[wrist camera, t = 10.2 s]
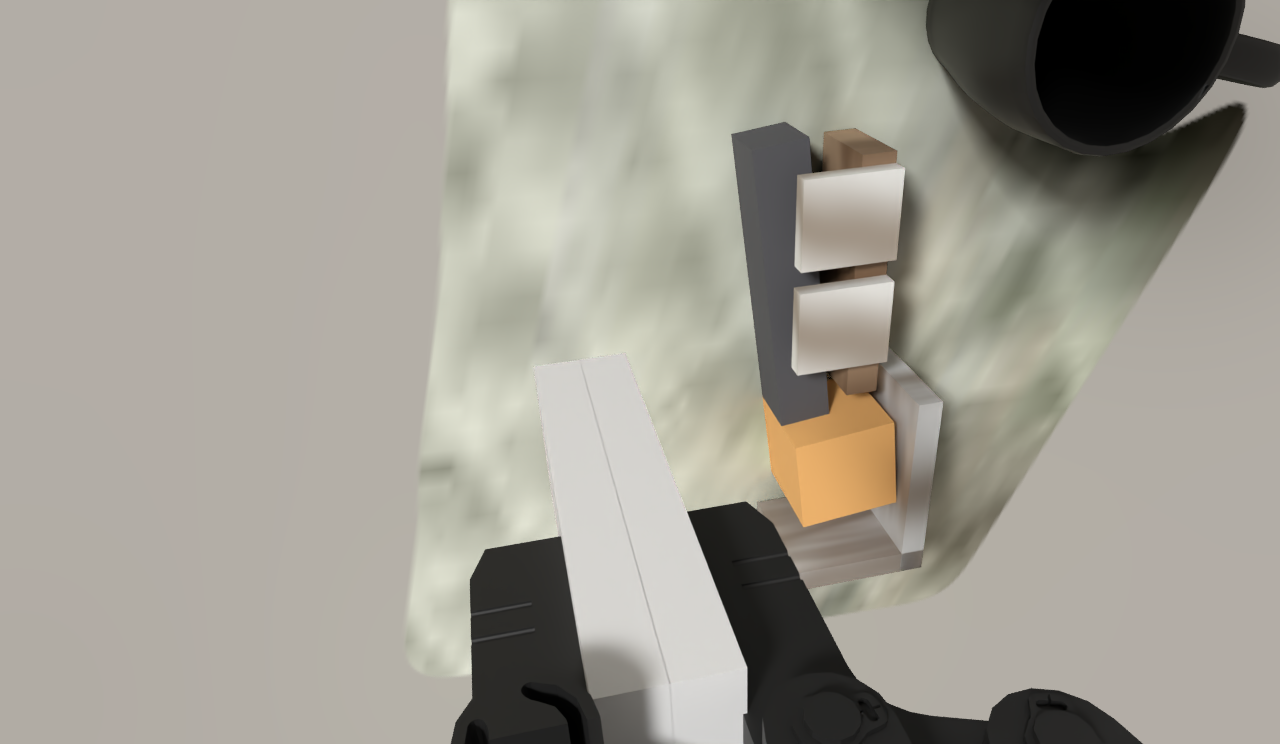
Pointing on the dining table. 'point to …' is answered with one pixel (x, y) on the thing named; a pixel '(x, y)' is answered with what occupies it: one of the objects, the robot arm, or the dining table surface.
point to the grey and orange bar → (794, 405)
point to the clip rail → (858, 356)
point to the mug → (1096, 63)
